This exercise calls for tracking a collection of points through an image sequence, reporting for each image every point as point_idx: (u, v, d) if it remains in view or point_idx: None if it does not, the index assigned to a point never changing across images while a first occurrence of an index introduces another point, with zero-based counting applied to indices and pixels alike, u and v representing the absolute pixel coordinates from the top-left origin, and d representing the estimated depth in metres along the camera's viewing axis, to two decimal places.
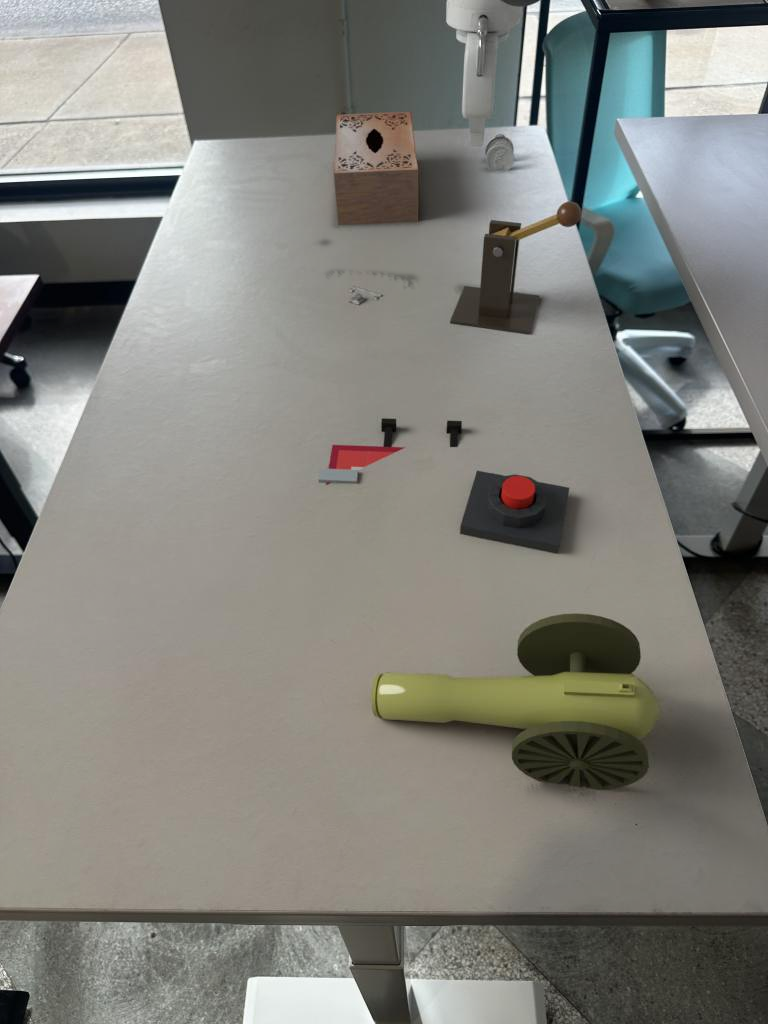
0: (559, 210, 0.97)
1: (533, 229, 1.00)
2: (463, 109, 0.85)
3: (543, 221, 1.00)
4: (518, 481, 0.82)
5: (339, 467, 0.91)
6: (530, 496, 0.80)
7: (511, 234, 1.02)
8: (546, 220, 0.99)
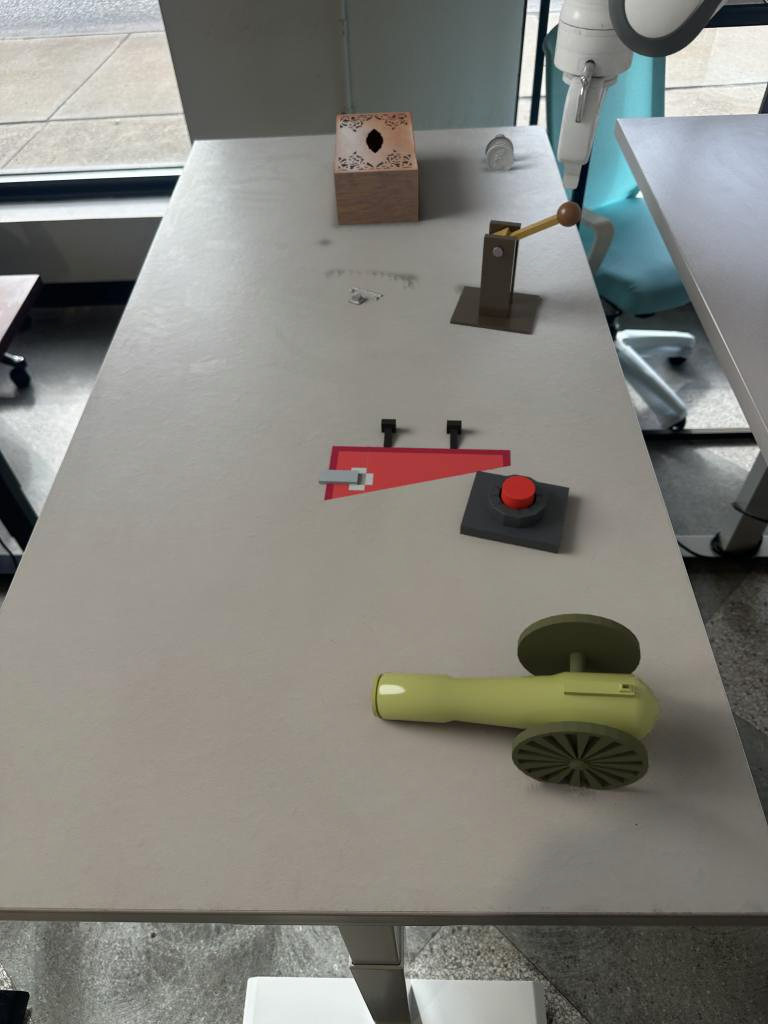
0: (559, 210, 0.97)
1: (533, 229, 1.00)
2: (558, 153, 0.83)
3: (543, 221, 1.00)
4: (518, 481, 0.82)
5: (339, 468, 0.91)
6: (530, 496, 0.80)
7: (511, 234, 1.02)
8: (546, 220, 0.99)
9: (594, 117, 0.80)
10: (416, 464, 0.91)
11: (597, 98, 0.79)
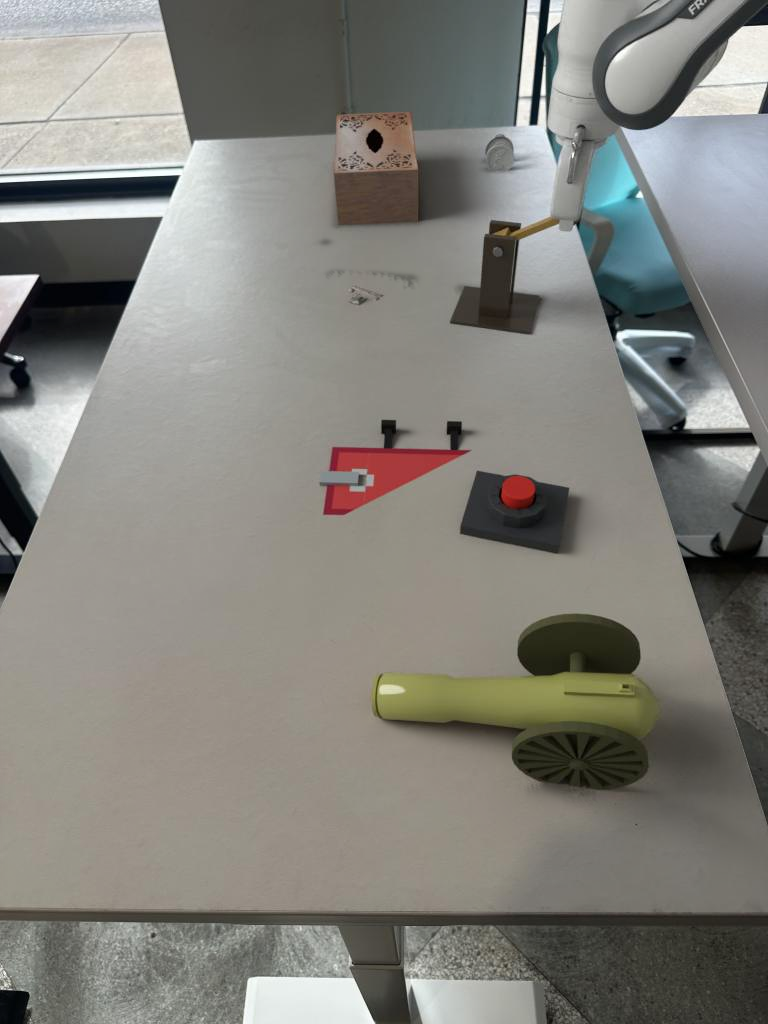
0: None
1: (533, 229, 1.00)
2: (551, 210, 0.89)
3: (543, 221, 1.00)
4: (518, 481, 0.82)
5: (340, 469, 0.90)
6: (530, 496, 0.80)
7: (511, 234, 1.02)
8: (546, 220, 0.99)
9: (584, 179, 0.85)
10: (417, 465, 0.90)
11: (587, 161, 0.84)
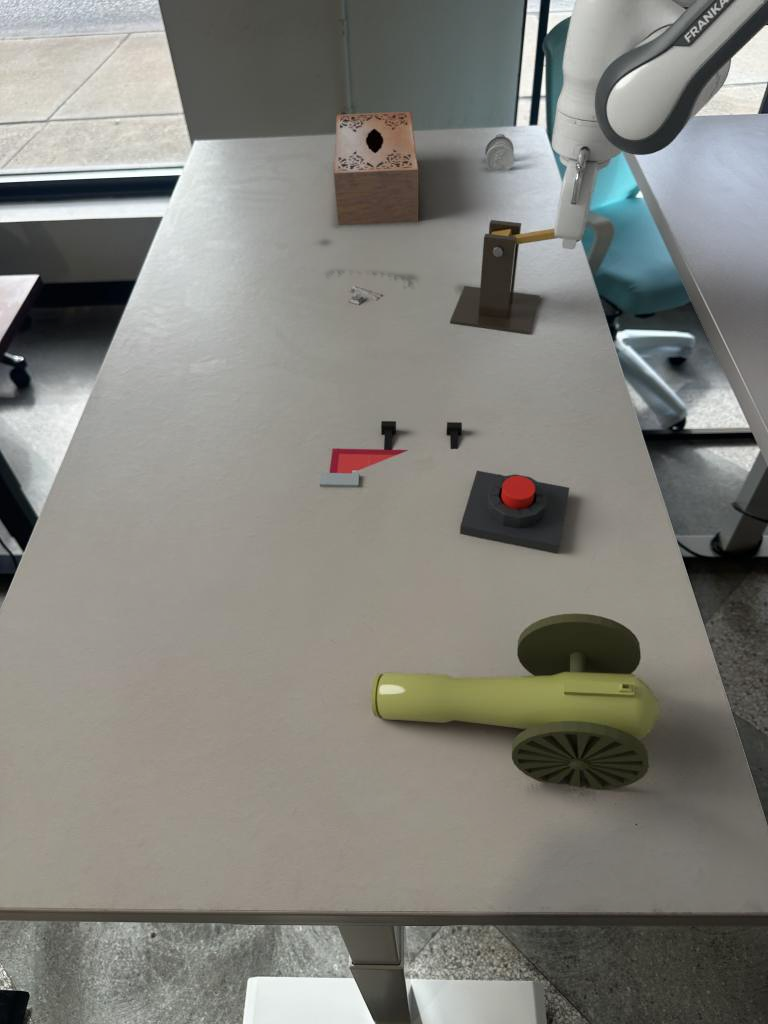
0: None
1: (536, 237, 1.01)
2: (555, 230, 0.90)
3: (547, 231, 1.01)
4: (518, 481, 0.82)
5: (340, 471, 0.90)
6: (530, 496, 0.80)
7: None
8: (550, 231, 1.00)
9: (588, 200, 0.87)
10: None
11: (591, 183, 0.86)
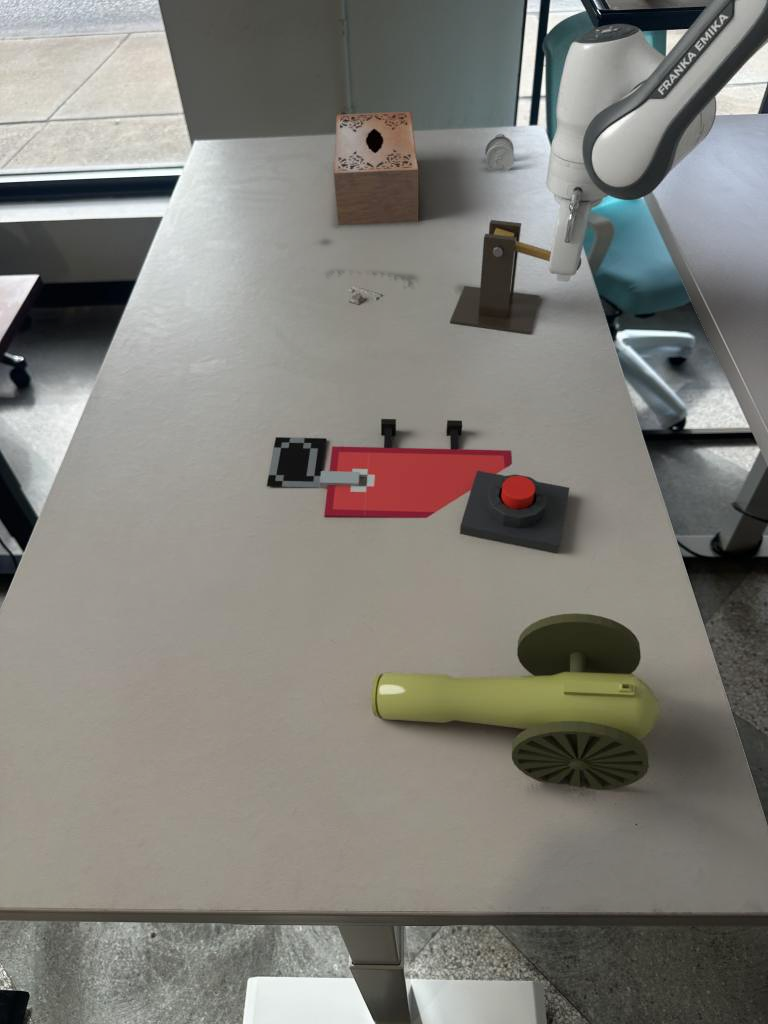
0: None
1: (535, 253, 1.03)
2: (549, 266, 0.94)
3: (546, 252, 1.03)
4: (518, 481, 0.82)
5: (340, 469, 0.90)
6: (530, 496, 0.80)
7: None
8: (550, 253, 1.03)
9: (581, 238, 0.91)
10: (417, 465, 0.90)
11: (584, 223, 0.90)
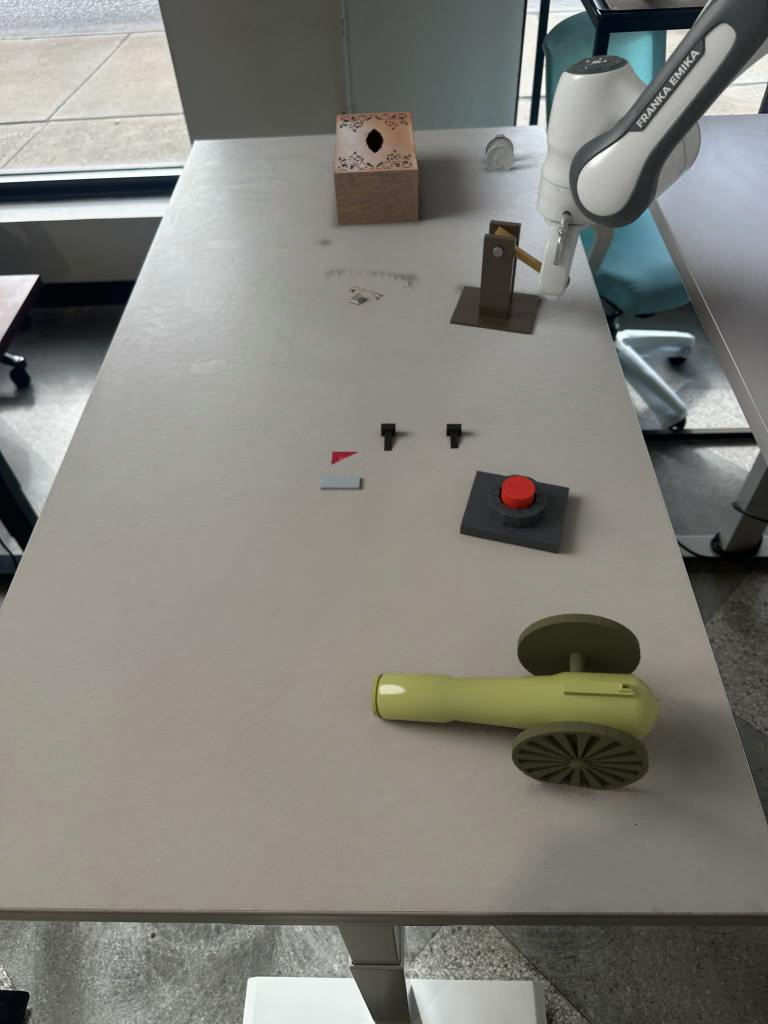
0: None
1: (530, 262, 1.04)
2: (538, 287, 0.96)
3: (541, 264, 1.04)
4: (518, 481, 0.82)
5: None
6: (530, 496, 0.80)
7: None
8: None
9: (569, 261, 0.93)
10: None
11: (572, 246, 0.92)
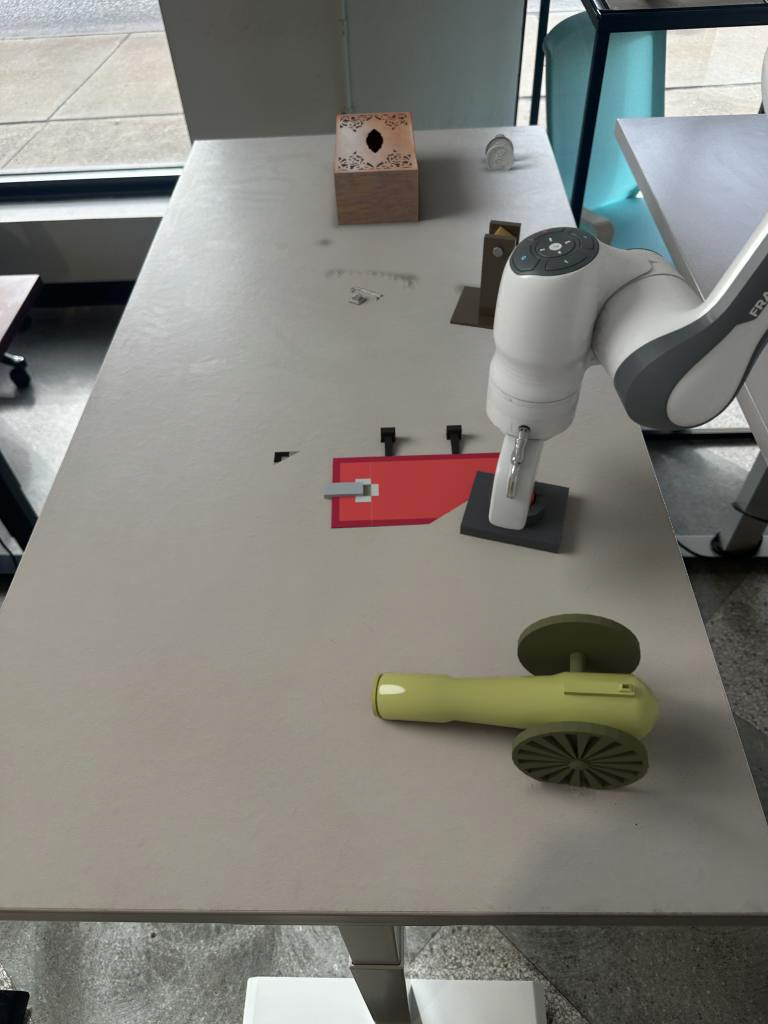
0: None
1: None
2: (489, 519, 0.72)
3: None
4: None
5: (343, 480, 0.89)
6: None
7: None
8: None
9: (528, 495, 0.68)
10: (420, 472, 0.90)
11: (531, 477, 0.67)
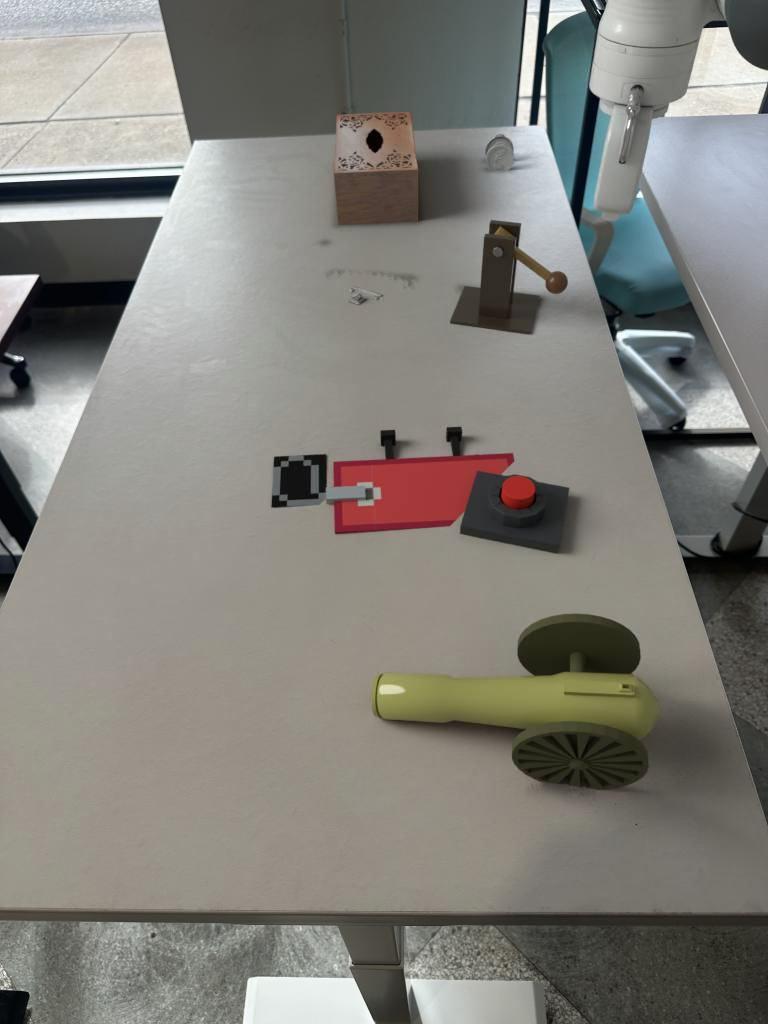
0: (557, 276, 1.04)
1: (529, 263, 1.04)
2: (595, 200, 0.67)
3: (539, 266, 1.05)
4: (518, 481, 0.82)
5: (344, 484, 0.88)
6: (530, 496, 0.80)
7: None
8: (542, 269, 1.05)
9: (643, 157, 0.63)
10: (422, 474, 0.89)
11: (647, 134, 0.63)
